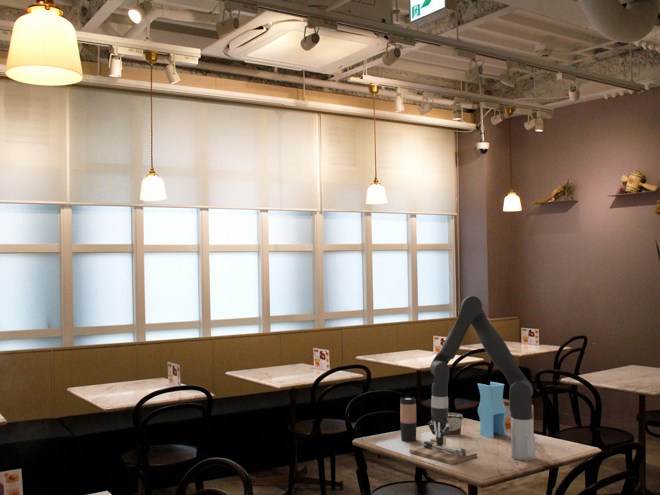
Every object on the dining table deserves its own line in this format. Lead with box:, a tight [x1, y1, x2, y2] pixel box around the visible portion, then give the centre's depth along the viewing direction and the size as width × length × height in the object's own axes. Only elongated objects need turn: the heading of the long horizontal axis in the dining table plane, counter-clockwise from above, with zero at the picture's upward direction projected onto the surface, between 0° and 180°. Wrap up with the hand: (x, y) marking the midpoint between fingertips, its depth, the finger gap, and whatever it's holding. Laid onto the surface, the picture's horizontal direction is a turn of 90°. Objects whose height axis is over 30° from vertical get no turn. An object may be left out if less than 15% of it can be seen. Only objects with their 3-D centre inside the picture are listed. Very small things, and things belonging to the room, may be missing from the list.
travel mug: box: [399, 396, 417, 443], centre depth 316 cm, size 8×8×20 cm
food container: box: [445, 412, 464, 437], centre depth 327 cm, size 12×6×10 cm, turn 84°
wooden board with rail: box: [409, 444, 478, 465], centre depth 289 cm, size 24×17×4 cm
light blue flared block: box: [477, 381, 508, 439], centre depth 325 cm, size 10×10×25 cm
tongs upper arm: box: [423, 440, 463, 453], centre depth 289 cm, size 20×2×1 cm, turn 40°
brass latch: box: [429, 436, 447, 446], centre depth 298 cm, size 4×7×4 cm, turn 130°
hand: (439, 445), depth 290 cm, fingers closed
